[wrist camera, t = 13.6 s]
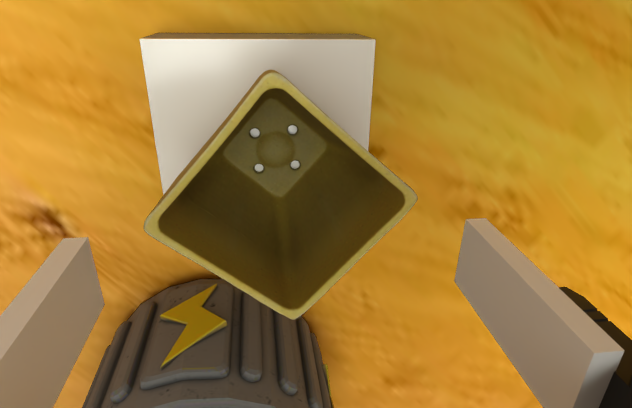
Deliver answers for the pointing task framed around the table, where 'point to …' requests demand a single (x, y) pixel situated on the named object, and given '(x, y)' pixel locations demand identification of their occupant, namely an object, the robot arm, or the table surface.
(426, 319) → the table surface
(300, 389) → the decorative lamp
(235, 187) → the flower pot
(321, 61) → the plinth
